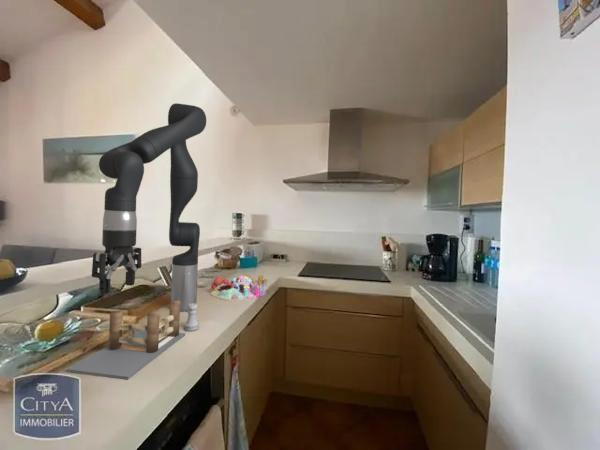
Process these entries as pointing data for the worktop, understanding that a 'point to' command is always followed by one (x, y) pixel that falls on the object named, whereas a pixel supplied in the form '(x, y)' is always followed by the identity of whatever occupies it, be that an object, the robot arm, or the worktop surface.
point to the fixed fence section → (154, 326)
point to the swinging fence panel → (116, 331)
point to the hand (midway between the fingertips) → (118, 289)
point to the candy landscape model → (239, 287)
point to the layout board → (122, 358)
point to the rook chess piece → (192, 318)
